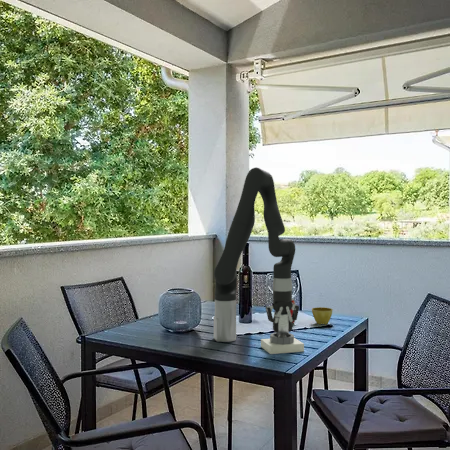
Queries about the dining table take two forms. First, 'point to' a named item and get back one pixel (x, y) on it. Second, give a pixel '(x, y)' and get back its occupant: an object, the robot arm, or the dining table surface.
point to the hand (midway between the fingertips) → (282, 331)
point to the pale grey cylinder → (283, 326)
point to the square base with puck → (282, 344)
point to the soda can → (292, 309)
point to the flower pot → (322, 315)
